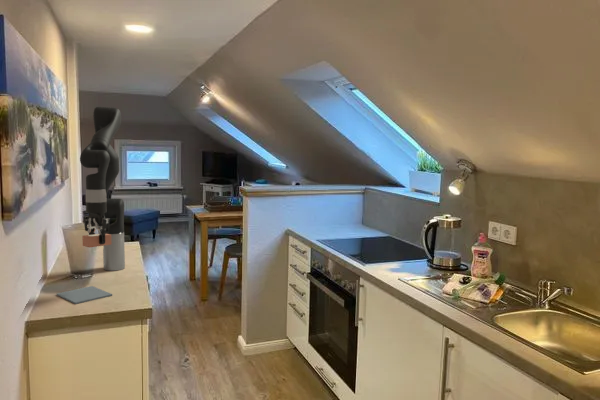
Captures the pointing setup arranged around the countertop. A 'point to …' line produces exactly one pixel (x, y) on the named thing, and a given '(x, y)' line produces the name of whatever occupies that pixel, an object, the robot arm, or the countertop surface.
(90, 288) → the mat
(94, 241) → the card box
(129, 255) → the countertop surface
